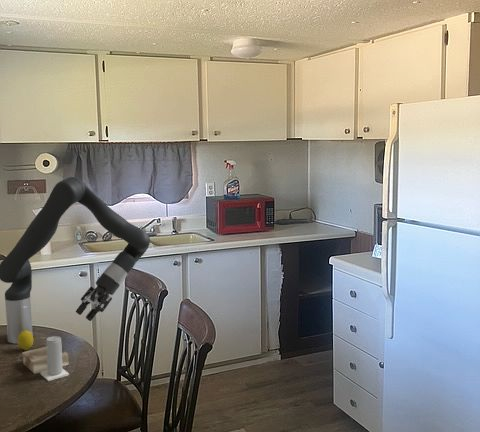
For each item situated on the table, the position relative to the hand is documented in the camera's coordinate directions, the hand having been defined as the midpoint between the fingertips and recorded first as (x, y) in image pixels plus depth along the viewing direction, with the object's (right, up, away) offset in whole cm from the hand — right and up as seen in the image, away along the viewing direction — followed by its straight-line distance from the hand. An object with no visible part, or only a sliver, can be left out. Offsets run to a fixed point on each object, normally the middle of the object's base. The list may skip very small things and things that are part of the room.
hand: (82, 316), depth 187 cm
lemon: (-26, -16, +18) cm, 36 cm away
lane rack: (-14, -18, +5) cm, 23 cm away
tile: (-8, -19, -4) cm, 21 cm away
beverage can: (-8, -18, -4) cm, 21 cm away
